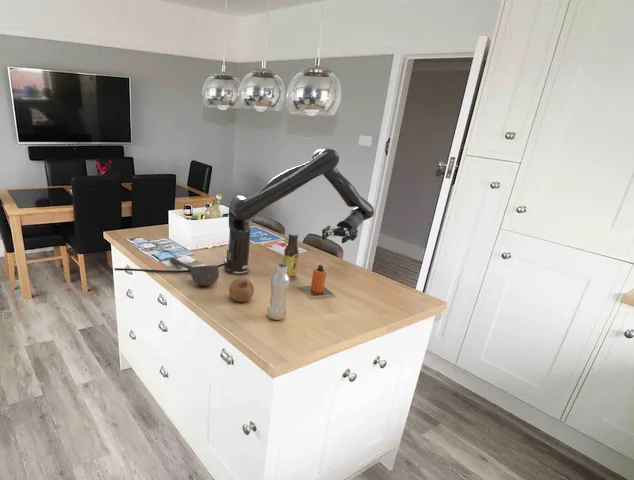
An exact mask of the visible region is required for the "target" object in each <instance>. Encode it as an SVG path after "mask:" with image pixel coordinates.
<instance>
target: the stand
mask: <svg viewBox="0 0 634 480" xmlns="http://www.w3.org/2000/svg"><path fill="white" fill-rule="evenodd" d="M317 268H318V271H319V272H322V271H323V269H324V265H323V264H318V265H317ZM301 289H303V290H304V291H305V292H307V293H308V294H309V295H310V296H312V297H318V296H329V295H334V293H333V292H332V291H330V290H329V289H328V288H326V287H325V286H324V290H323V292H321V293H316V292H313V291H311V285H304V286H301Z"/></svg>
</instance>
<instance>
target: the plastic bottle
mask: <svg viewBox="0 0 634 480" xmlns="http://www.w3.org/2000/svg"><path fill="white" fill-rule="evenodd" d="M286 272H287V265H285V264H283V263H277V264H276V268H275V272H274V274H273V275H272V276H271V278H270V298H269V304H268V306H267V310H266V314H267V316H268V318H269V319H271V320H275V321H280V320H283V319H284V318H285V317H286V313H287V296H288V290H289V286H290V284H291V278H289V276H288V274H287V273H286Z"/></svg>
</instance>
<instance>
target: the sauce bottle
mask: <svg viewBox="0 0 634 480" xmlns="http://www.w3.org/2000/svg"><path fill="white" fill-rule="evenodd" d="M298 238H299V234H298V233H296V232H289V233H288V242H287V245H286V246H285V248H284V254H283V261H282V264H285V265H287V272H286V273H287V274H288V276H289V278H290V279H293V278H295V277H296V275H297V268H298V260H299V254H300V253H299V252H300V251H299V248H298Z"/></svg>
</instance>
